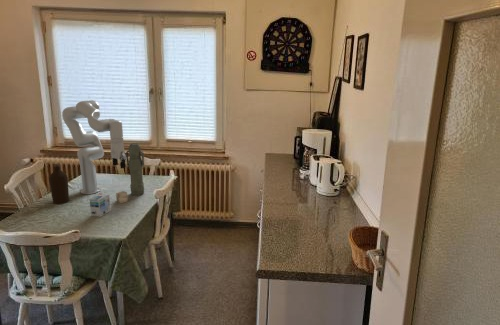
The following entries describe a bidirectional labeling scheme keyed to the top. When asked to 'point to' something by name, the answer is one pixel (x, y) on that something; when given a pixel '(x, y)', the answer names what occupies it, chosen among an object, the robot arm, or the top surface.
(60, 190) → the olive oil
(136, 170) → the thermos
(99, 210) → the light bulb box
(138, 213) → the top surface
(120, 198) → the beech block
